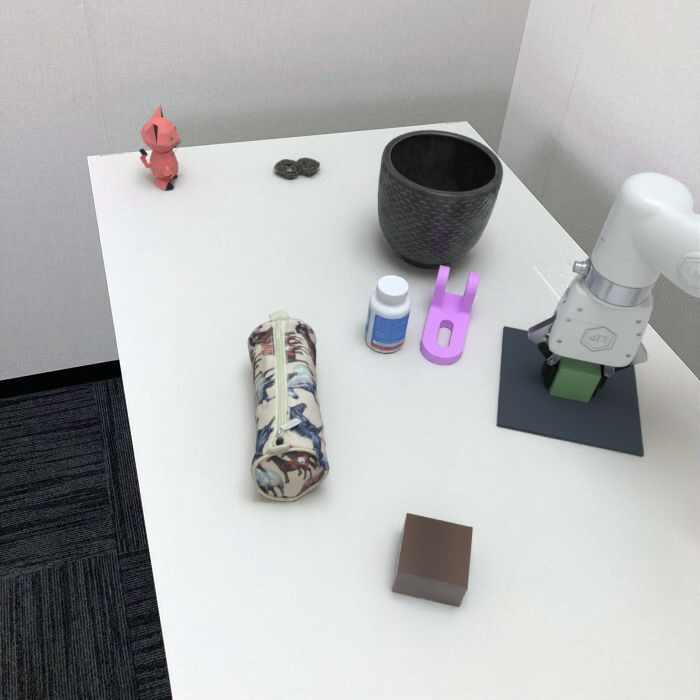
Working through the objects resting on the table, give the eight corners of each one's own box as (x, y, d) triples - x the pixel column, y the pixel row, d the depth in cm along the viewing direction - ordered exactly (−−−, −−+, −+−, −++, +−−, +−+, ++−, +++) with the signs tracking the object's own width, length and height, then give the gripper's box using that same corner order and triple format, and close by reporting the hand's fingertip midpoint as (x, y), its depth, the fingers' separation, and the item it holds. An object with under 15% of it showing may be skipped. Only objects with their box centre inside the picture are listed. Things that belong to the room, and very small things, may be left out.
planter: (466, 300, 107) (491, 209, 96) (354, 268, 110) (366, 175, 98) (488, 234, 119) (513, 146, 107) (387, 207, 121) (401, 118, 110)
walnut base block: (465, 546, 79) (473, 526, 76) (459, 607, 74) (467, 589, 71) (401, 532, 80) (406, 512, 77) (391, 591, 75) (396, 573, 72)
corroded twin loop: (323, 176, 126) (324, 171, 125) (278, 181, 123) (278, 175, 123) (315, 160, 129) (315, 155, 128) (270, 165, 127) (270, 159, 126)
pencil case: (328, 503, 81) (335, 450, 74) (250, 506, 80) (250, 453, 73) (313, 358, 96) (317, 303, 89) (247, 359, 95) (246, 304, 88)
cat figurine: (181, 195, 118) (175, 127, 110) (138, 191, 118) (128, 123, 109) (188, 171, 123) (183, 104, 115) (147, 167, 123) (138, 100, 114)
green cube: (586, 375, 98) (599, 349, 94) (588, 403, 95) (601, 377, 91) (549, 367, 98) (560, 341, 95) (549, 395, 95) (560, 369, 91)
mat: (631, 354, 102) (632, 351, 102) (642, 456, 90) (644, 454, 90) (503, 328, 104) (504, 325, 103) (496, 426, 91) (497, 423, 91)
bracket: (433, 297, 107) (441, 259, 102) (470, 305, 106) (481, 268, 101) (417, 359, 98) (425, 321, 93) (458, 369, 97) (469, 331, 92)
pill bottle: (411, 345, 100) (423, 291, 93) (379, 359, 97) (389, 305, 90) (388, 320, 102) (397, 266, 95) (356, 333, 100) (363, 279, 93)
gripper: (543, 284, 81) (502, 391, 94) (698, 315, 80) (636, 419, 93) (543, 244, 86) (505, 350, 99) (690, 272, 85) (631, 376, 98)
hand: (569, 383), depth 96 cm, fingers closed on green cube, 5 cm apart
